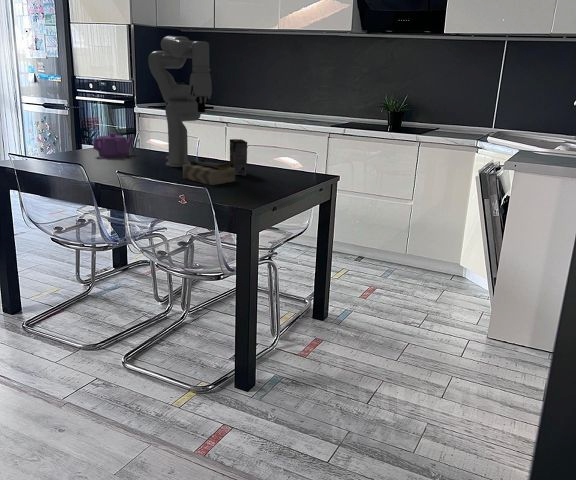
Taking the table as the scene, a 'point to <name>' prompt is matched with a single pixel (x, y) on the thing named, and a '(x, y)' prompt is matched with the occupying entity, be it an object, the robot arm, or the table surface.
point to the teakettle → (112, 146)
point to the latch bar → (206, 164)
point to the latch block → (209, 173)
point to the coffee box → (238, 156)
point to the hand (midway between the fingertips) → (201, 112)
